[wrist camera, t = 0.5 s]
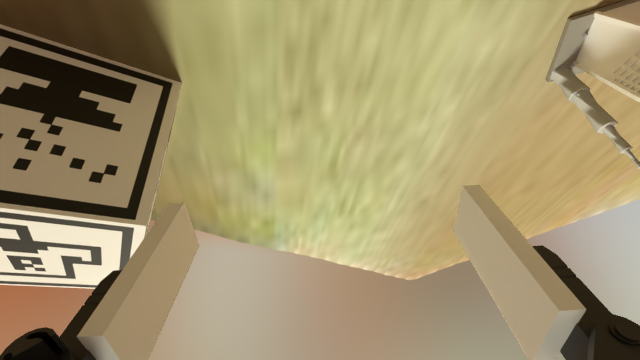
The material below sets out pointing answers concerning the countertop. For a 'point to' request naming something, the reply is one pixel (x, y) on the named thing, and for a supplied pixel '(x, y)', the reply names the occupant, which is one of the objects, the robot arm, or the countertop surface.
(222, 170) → the countertop surface
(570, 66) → the skyscraper
